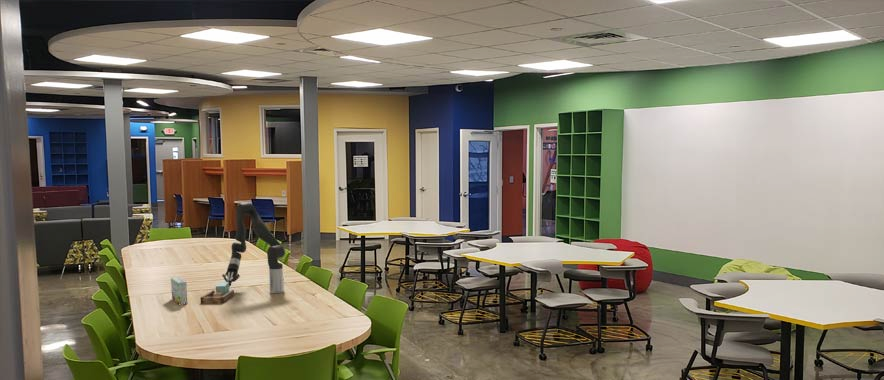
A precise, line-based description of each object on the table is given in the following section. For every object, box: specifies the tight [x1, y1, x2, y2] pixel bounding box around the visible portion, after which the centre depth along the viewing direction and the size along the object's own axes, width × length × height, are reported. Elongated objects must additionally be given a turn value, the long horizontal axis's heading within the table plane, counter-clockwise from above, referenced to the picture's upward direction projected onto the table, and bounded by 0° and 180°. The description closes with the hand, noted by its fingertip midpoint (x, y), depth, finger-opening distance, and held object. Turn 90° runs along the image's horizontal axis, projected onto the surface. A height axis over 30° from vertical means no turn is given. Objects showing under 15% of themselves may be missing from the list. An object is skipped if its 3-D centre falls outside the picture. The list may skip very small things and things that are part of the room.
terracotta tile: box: [213, 291, 223, 297], centre depth 414 cm, size 5×5×4 cm
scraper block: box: [215, 281, 230, 296], centre depth 424 cm, size 6×14×8 cm, turn 8°
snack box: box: [170, 276, 188, 305], centre depth 407 cm, size 21×6×15 cm, turn 37°
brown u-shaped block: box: [200, 289, 235, 304], centre depth 412 cm, size 15×20×4 cm
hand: (228, 286), depth 432 cm, fingers closed
